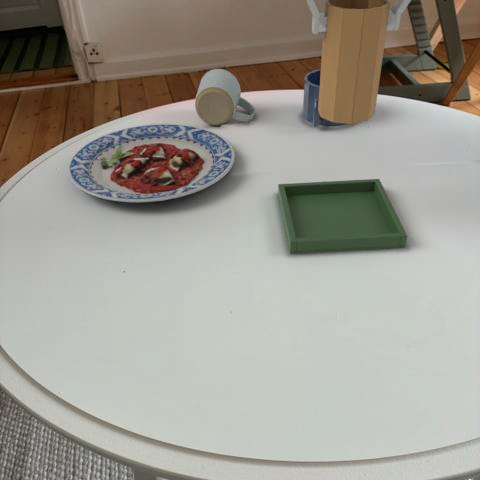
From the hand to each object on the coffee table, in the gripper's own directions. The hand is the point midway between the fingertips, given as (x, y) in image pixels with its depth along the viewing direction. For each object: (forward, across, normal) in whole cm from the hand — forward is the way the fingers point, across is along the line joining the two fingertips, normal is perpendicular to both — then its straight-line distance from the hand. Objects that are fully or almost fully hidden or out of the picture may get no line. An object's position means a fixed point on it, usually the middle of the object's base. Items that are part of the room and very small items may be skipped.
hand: (354, 31), depth 60 cm
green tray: (+23, 0, +3) cm, 23 cm away
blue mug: (+23, -4, -30) cm, 38 cm away
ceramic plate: (+23, +26, -14) cm, 38 cm away
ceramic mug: (+23, +14, -33) cm, 43 cm away
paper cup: (+9, 0, 0) cm, 9 cm away
